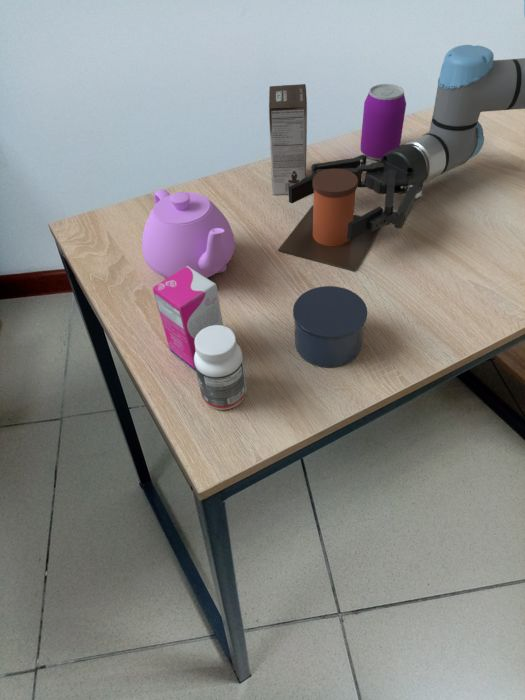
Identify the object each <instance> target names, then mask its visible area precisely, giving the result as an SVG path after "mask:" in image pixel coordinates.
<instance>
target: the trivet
mask: <svg viewBox="0 0 525 700" xmlns="http://www.w3.org/2000/svg"><path fill="white" fill-rule="evenodd" d="M361 216H362V215H358V214H354V215H353V220H355V219H357V218H359V217H361ZM381 228H382V227H380V228H378V229H376V230H374V231H371V230H369V231H367V232H365V233H363V234H362V235H360V236H358V237H356V238H354V239H353V240H351V241H350V240H349V241H348V242H347V243H345V244H343V245H340V246H325V245H322V244H319V243H318V242H316V241H315V239H314V238H313V205H311V207H309V209H308V211H307V212H306V213H305V214H304V216H303V217H302V218H301V219H300V221H299V223H297V224H296V226H295V227H294V228H293V230H292V231H291V232H290V234H289V235H288V236H287V238H286V239H285V240H284V241H283V243H282V244H281V245H280V246H279V248H278V249H277V250H278V252H280V253H284V254H287V255H292V256H295V257H299V258H302V259H305V260H310V261H313V262H317V263H321V264H324V265H329V266H332V267H336V268H340V269H343V270H347V271H351V272H355V271H356V270H357V268H358V266H359V265H360V263H361V261H362V260H363V258H364V256H365V255H366V253H367V251H368V250H369V248H370V246H371V245H372V243H373V242H374V240H375V238H376V236H377V235H378V233H379V232H380V230H381Z"/></svg>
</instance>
